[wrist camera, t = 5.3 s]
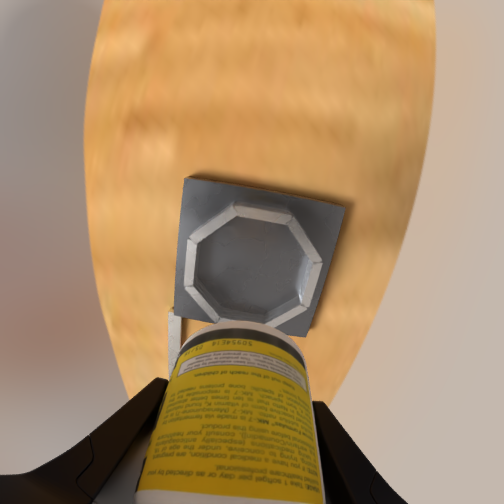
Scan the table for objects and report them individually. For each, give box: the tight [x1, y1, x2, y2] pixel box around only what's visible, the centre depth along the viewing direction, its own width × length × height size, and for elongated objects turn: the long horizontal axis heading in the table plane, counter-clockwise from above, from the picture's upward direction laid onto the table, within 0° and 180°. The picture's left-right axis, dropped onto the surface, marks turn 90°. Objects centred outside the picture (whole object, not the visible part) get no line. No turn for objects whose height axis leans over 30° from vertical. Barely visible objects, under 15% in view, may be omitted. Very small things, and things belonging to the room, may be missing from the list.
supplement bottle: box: [134, 321, 326, 504], centre depth 6 cm, size 5×5×8 cm
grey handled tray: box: [168, 177, 346, 380], centre depth 20 cm, size 25×11×4 cm, turn 170°
